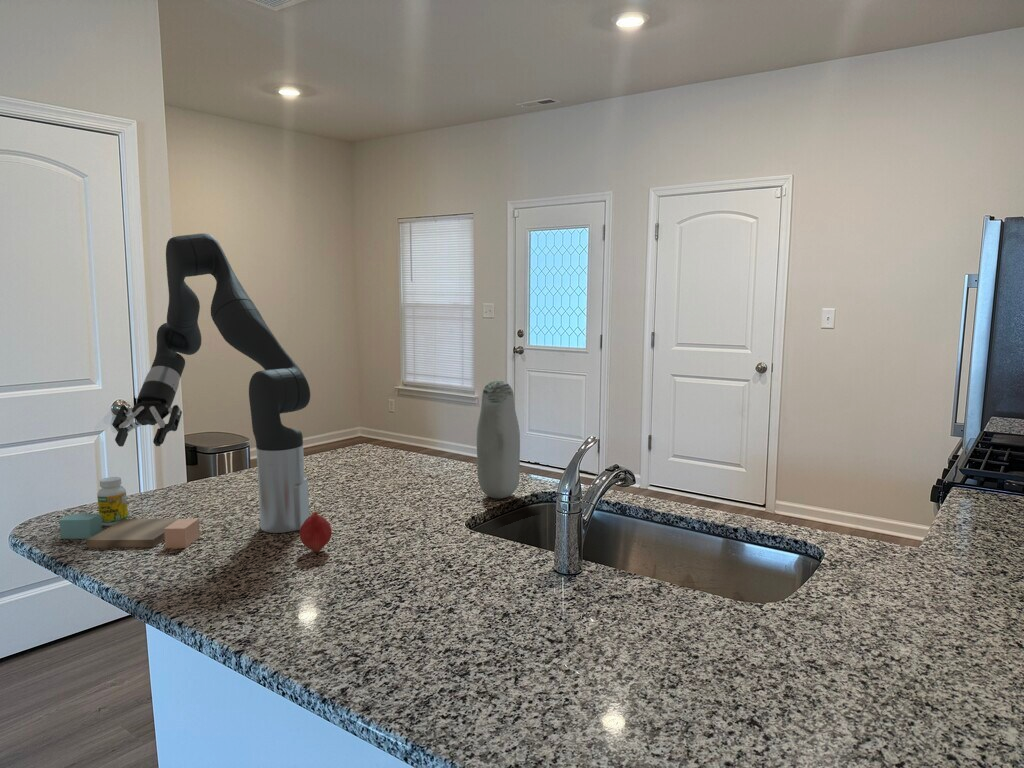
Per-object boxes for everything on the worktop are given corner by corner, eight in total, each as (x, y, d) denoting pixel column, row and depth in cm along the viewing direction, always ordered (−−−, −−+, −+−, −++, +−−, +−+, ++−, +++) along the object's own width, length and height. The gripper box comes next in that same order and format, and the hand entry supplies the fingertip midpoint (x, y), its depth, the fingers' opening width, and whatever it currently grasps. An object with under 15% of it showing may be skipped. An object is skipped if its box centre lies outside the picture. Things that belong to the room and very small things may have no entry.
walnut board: (185, 525, 146) (184, 518, 146) (153, 547, 133) (153, 539, 133) (123, 525, 146) (123, 519, 145) (86, 547, 133) (85, 540, 133)
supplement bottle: (132, 517, 151) (129, 475, 150) (122, 525, 146) (118, 481, 145) (106, 519, 150) (102, 476, 149) (95, 527, 145) (91, 482, 144)
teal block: (102, 532, 142) (100, 513, 142) (90, 539, 138) (88, 519, 138) (74, 532, 142) (72, 513, 142) (61, 539, 138) (59, 520, 138)
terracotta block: (180, 537, 138) (178, 518, 138) (200, 537, 138) (198, 518, 138) (165, 548, 132) (164, 528, 132) (186, 548, 132) (184, 528, 132)
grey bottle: (472, 494, 167) (470, 380, 164) (511, 489, 171) (510, 378, 167) (485, 505, 158) (483, 384, 155) (526, 500, 161) (525, 382, 158)
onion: (293, 554, 128) (291, 512, 127) (315, 544, 133) (314, 504, 132) (317, 559, 126) (315, 517, 125) (338, 549, 131) (337, 508, 130)
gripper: (123, 379, 165) (99, 435, 155) (182, 379, 165) (162, 435, 155) (137, 398, 171) (114, 453, 161) (194, 397, 171) (175, 453, 161)
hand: (137, 444), depth 158 cm, fingers open, 8 cm apart
